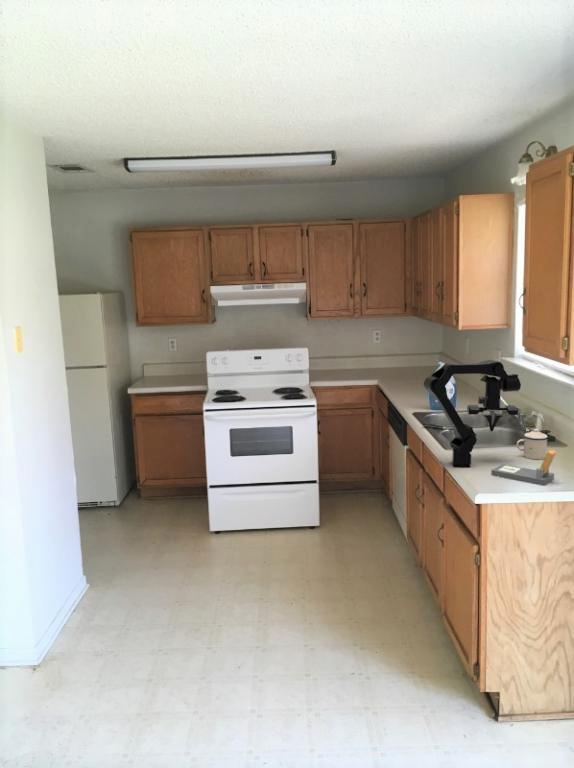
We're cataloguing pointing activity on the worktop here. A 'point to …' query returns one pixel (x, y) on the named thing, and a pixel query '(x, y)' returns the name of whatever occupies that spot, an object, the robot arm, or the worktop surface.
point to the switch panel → (523, 474)
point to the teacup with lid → (534, 445)
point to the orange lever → (547, 461)
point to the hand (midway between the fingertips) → (491, 431)
